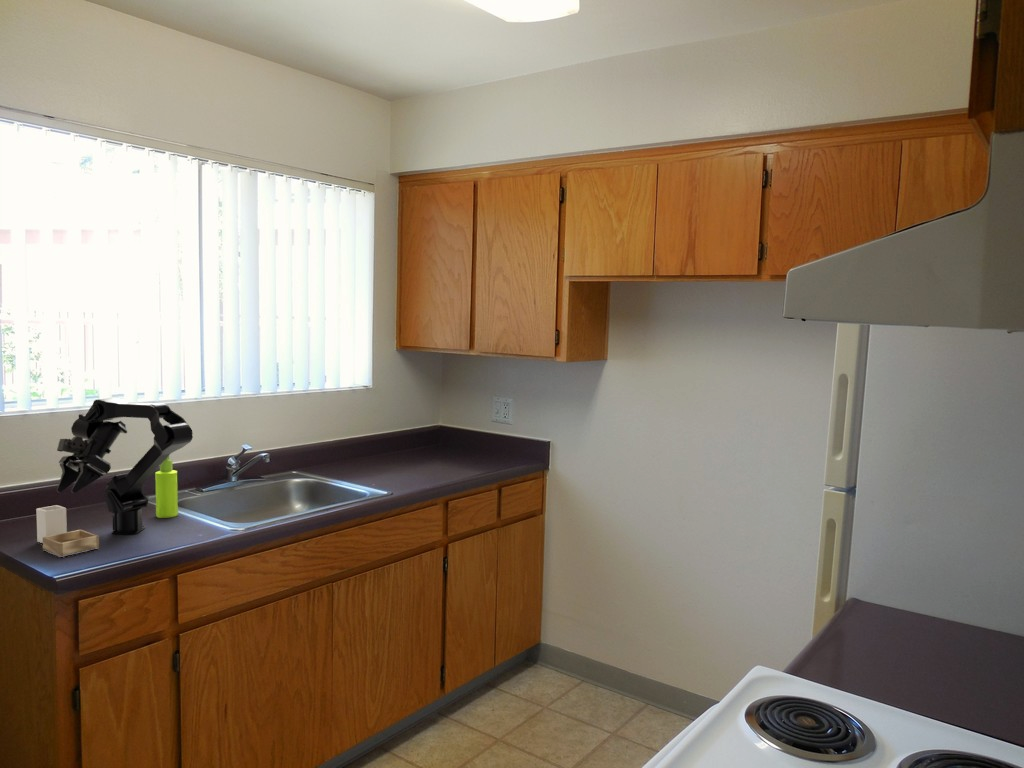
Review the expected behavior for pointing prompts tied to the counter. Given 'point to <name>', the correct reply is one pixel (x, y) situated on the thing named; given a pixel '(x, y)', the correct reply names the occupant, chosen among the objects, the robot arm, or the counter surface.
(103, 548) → the counter surface
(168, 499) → the soap dispenser
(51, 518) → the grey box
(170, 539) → the counter surface
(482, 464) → the counter surface
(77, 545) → the pine crate
